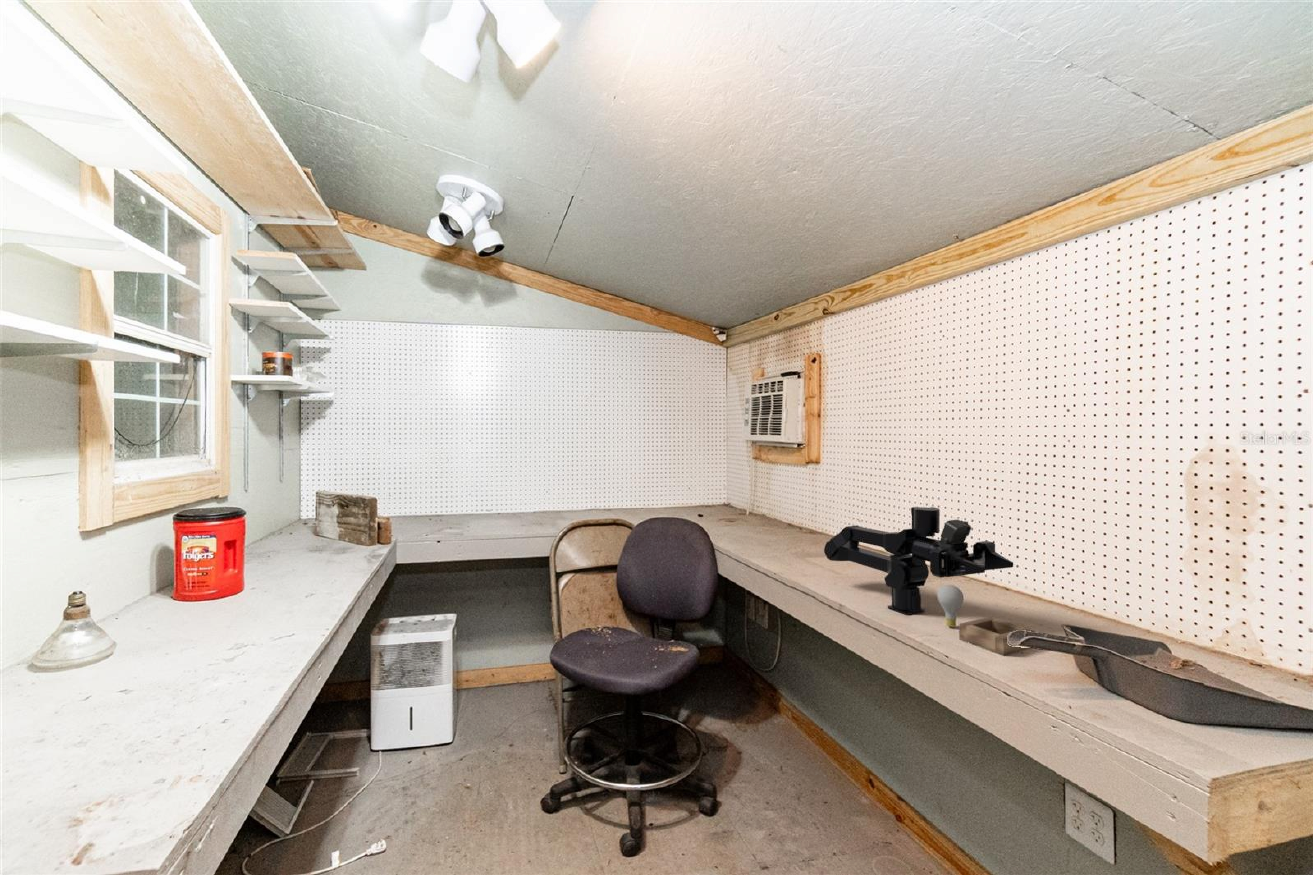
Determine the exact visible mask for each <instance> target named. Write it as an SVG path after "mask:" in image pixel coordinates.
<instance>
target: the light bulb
mask: <svg viewBox="0 0 1313 875" xmlns="http://www.w3.org/2000/svg"><path fill="white" fill-rule="evenodd" d="M964 598H965V597H964V594H963V591H962V590H961V589H960V587H957V586H956V585H953V584H944V585H942V586H940V588H939V589H938V590H937V600H938V602H939V604H940V605H941V607H942V609H943V610H944V614H945V623H946V626H948V627H949V628H951V629H952V628H954V627H956V626H957V613H958V611H959V610H960V609H961V607H962V605H963V604H964V600H965V599H964Z"/></svg>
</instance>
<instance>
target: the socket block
mask: <svg viewBox="0 0 1313 875" xmlns="http://www.w3.org/2000/svg"><path fill="white" fill-rule="evenodd" d="M1016 630H1026V631H1031V632H1034V633H1035V630H1034V629H1031V628H1027V627H1024V626H1021V625H1018V624H1015V623H1011V622H1007V621H1006V620H1005V621H1004V620H1002V619H998V618H996V617H992V616H987V617H983V618H978V619H974V620H970V621H966V622H961V623H958V632H959V640H960V641H962V642H965V641H966V642H965V643H968V642H969V643H968V644H970V643H971V644H970V645H973V646H976V647H978V646H979V647H978V648H981V647H982V649H984V650H987V651H989V650H990V652H992V653H995V654H998V655H1000V656H1004V657H1005V656H1008V655H1012V654H1015V653H1019V652H1022V651H1026V650H1028V649H1029V650H1030V648H1021V647H1012V646H1009V645H1008V644H1007V635H1008V634H1009V633H1010V632H1013V631H1016Z"/></svg>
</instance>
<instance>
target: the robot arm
mask: <svg viewBox="0 0 1313 875" xmlns="http://www.w3.org/2000/svg"><path fill="white" fill-rule="evenodd" d="M910 512H911V513H910V514H911V528H905V529H902V530H901V531H893V532H888V531H885V530H884V531H883V530H878V529H874V528H868V527H864V526H863V527H862V526H859V525H856V524H855V525H848V526H845V527H843V529H841V531H840V532H838V533H837V534H836V535H834V536H833V537H832V538H830V539H829V540H828V541H826V543H825V545H824V547H823V552H824V555H825V556H826V558H827V560H828V561H832V562H851V563H854V564H858V565H862V566H864V567H868V568H871V569H874V570H877V571H880V572H884V573H887V575H886V576H885V577H884V582H885V585H886V587H888V588H891V605H887V609H889V610H893V611H896V612H899V613H900V614H904V615H907V616H908V615H913V614H917V613H921V612H922V613H923V612H925V611H926V610H925V608H924V607H923V608H922V597H921V596H922V594H921V593H920V591H921V590H920V587H924V586H925V584H926V581H927V579H928V577H929V573H930V572H931V574H932V575H933V577H937V578H941V579H942V578H953V577H958V576H959V577H960V576H968V575H975V574H982V573H985V572H986V571H991V570H992V571H993V570H1003V569H1009V568H1013V567H1014V562H1013V561H1011V560H1009V559H1008V558H1006V557H1004V556H1002V555H1001V554H999V553H997V551H996V544H995V542H994V541H988V540H983V541H976V542H975V543H974V544H973V545H972V552H971V553H970V552H969V550H968V548H969V542H967V541H966V539H967V537H968V536H969V535H970V532H971V530H972V526H971V525H970V524H969V521H964V520H962V519H961V520H960V519H950V520H947V521H946V522H945V523H944V526H943V528H942V531H941V534H940V539H936V538H931V537H935V536H936V534H939V533H940V529H941V528H940V524H941V522H940V521H941V520H940V519H941V518H940V516H941V515H940V514H941V513H940V512H941V510H940V508H938V507H933V506H930V507H919V506H913V507H910ZM860 543H862V544H867V545H871V546H876V547H881V548H882V549H884V551H886V552H887V553H889V554H890V555H887V554H883V553H880V552H875V551H872V550H867V549H865V548H861V547H859V546H860ZM926 562H929V567H928V565H927V563H926Z"/></svg>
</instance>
